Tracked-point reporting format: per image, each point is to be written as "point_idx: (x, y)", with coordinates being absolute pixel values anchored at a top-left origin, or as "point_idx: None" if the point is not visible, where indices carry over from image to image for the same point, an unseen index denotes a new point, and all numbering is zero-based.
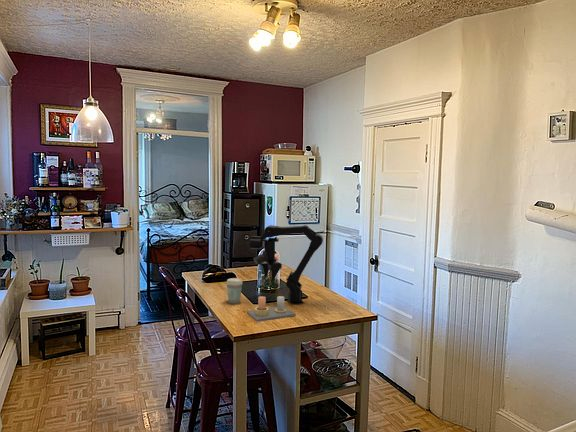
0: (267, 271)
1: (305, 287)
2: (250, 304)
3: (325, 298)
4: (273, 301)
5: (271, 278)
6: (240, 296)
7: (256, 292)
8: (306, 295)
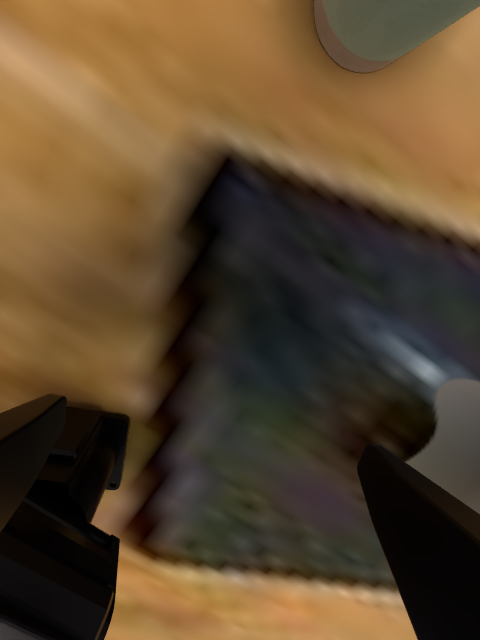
0: (401, 568)
1: (303, 626)
2: (214, 109)
3: None
4: (177, 330)
5: (29, 409)
6: (349, 30)
7: (437, 354)
8: (171, 562)
